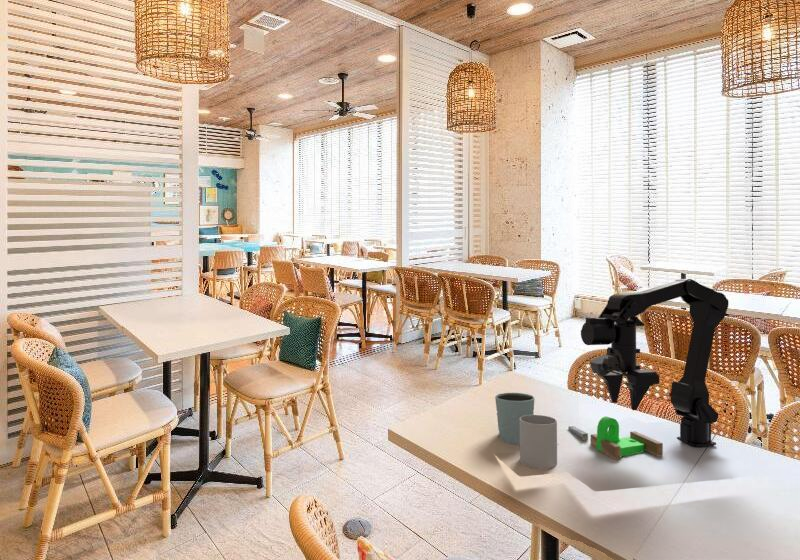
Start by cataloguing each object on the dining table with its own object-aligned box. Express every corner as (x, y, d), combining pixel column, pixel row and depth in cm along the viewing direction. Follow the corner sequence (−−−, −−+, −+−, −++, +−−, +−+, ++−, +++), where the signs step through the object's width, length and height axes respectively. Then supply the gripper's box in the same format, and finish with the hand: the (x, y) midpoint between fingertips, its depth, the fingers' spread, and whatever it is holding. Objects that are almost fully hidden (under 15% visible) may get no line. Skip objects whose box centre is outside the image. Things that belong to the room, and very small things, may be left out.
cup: (557, 458, 119) (557, 416, 119) (556, 470, 111) (556, 425, 111) (521, 454, 121) (521, 413, 122) (518, 466, 114) (517, 422, 114)
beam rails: (635, 442, 130) (635, 431, 130) (662, 455, 120) (662, 443, 120) (590, 446, 127) (590, 434, 127) (615, 459, 118) (614, 446, 118)
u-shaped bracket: (572, 434, 137) (572, 425, 137) (589, 444, 129) (589, 434, 129) (532, 437, 134) (532, 428, 134) (546, 447, 127) (546, 437, 127)
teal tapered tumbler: (539, 448, 126) (538, 400, 126) (499, 448, 126) (499, 400, 126) (529, 435, 136) (529, 392, 136) (492, 435, 136) (492, 392, 136)
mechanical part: (616, 457, 119) (617, 423, 119) (596, 449, 124) (597, 417, 124) (649, 451, 124) (650, 419, 124) (628, 444, 130) (630, 413, 130)
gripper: (574, 340, 132) (574, 399, 132) (618, 350, 114) (619, 418, 114) (611, 339, 134) (611, 397, 134) (660, 348, 116) (661, 415, 116)
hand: (623, 406), depth 124 cm, fingers open, 7 cm apart
